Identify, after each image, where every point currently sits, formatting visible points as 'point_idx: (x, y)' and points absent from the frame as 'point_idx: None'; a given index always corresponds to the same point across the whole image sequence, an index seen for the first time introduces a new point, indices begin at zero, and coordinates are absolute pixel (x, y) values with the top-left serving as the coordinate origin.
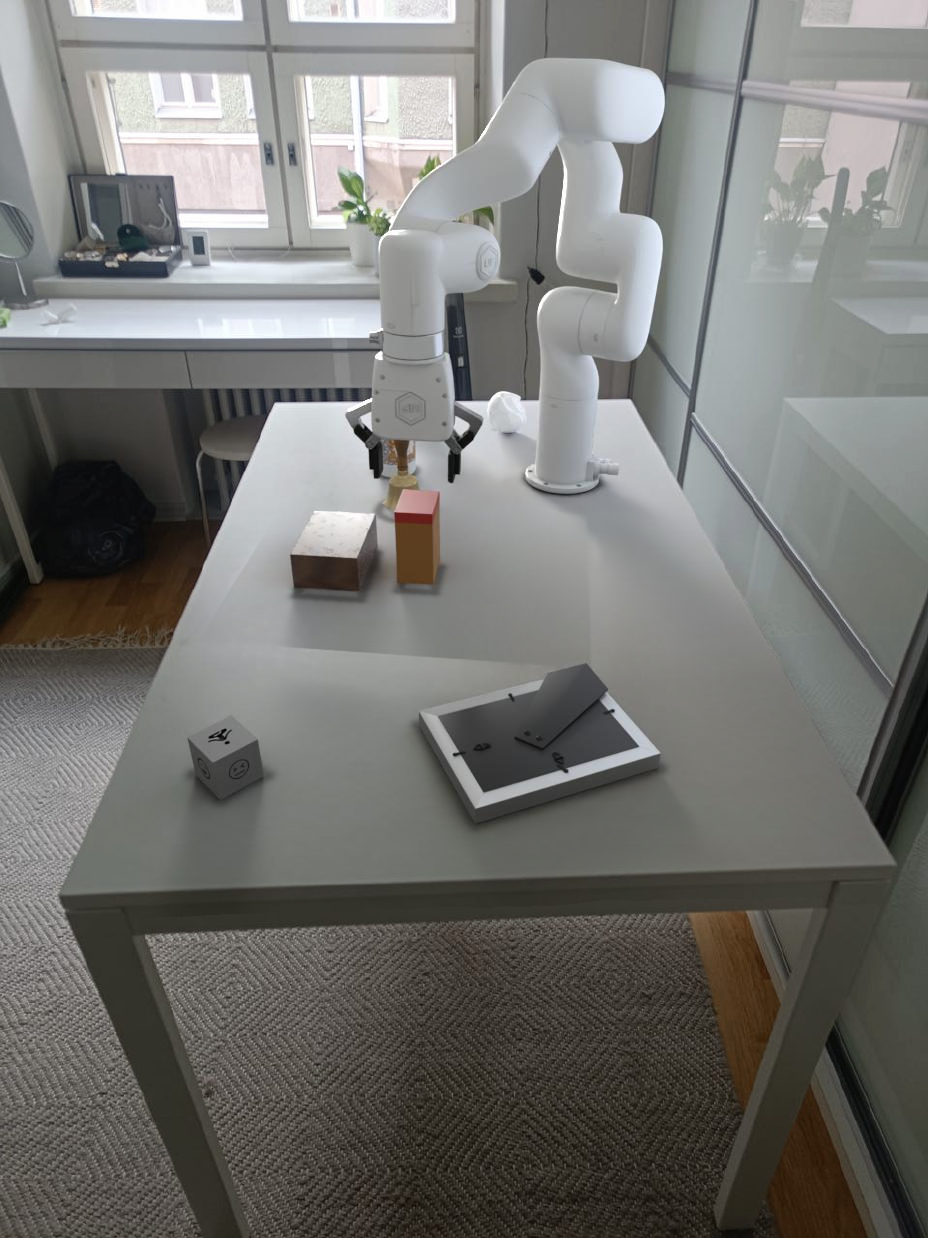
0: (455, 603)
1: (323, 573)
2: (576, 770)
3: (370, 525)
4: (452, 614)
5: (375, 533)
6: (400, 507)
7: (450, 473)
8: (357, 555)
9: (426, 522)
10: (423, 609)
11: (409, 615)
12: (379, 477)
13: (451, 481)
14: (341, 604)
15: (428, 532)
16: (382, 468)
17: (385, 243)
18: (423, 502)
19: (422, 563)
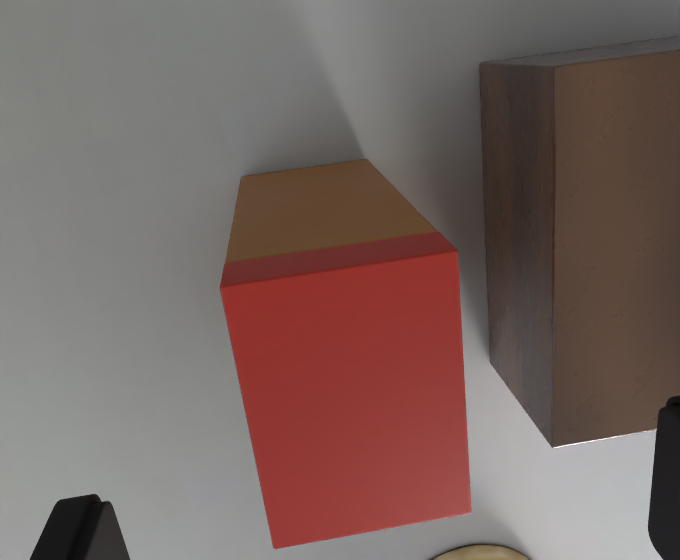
0: (143, 131)
1: (657, 45)
2: None
3: (554, 358)
4: (127, 53)
5: (522, 386)
6: (435, 316)
7: (52, 556)
8: (558, 93)
9: (259, 262)
10: (242, 61)
11: (279, 6)
12: (661, 410)
13: (68, 501)
14: (535, 21)
15: (249, 242)
16: (663, 527)
17: None
18: (319, 407)
19: (280, 196)
